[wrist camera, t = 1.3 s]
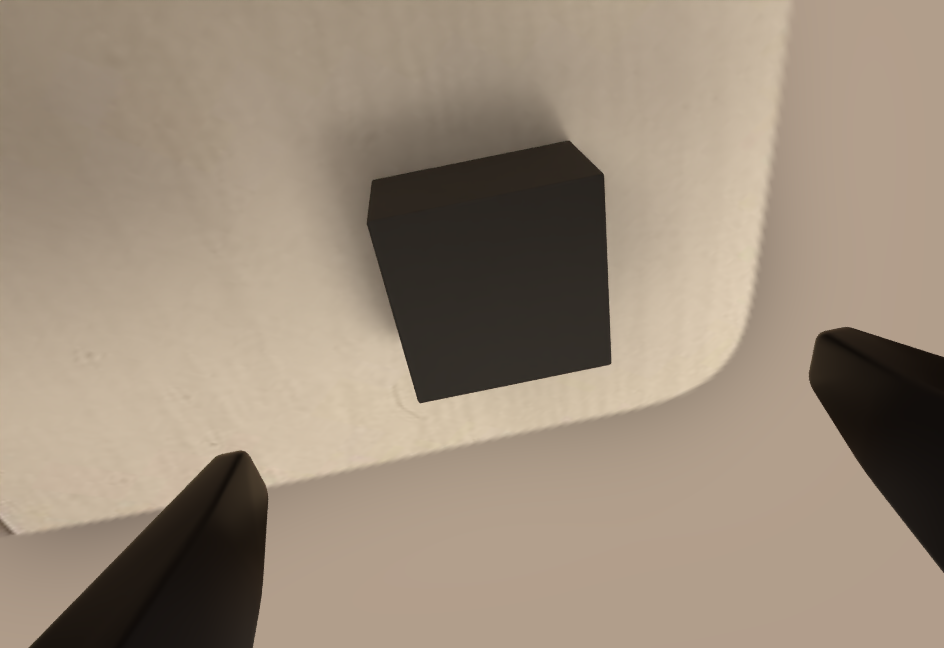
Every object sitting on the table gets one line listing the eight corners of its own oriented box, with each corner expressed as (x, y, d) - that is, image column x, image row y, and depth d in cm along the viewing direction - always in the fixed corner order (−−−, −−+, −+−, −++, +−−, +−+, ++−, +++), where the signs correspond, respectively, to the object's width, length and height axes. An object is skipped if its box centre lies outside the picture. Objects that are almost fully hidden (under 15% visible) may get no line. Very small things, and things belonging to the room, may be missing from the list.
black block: (415, 343, 15) (418, 404, 13) (371, 179, 12) (365, 221, 10) (581, 309, 15) (612, 365, 13) (569, 139, 12) (604, 173, 10)
